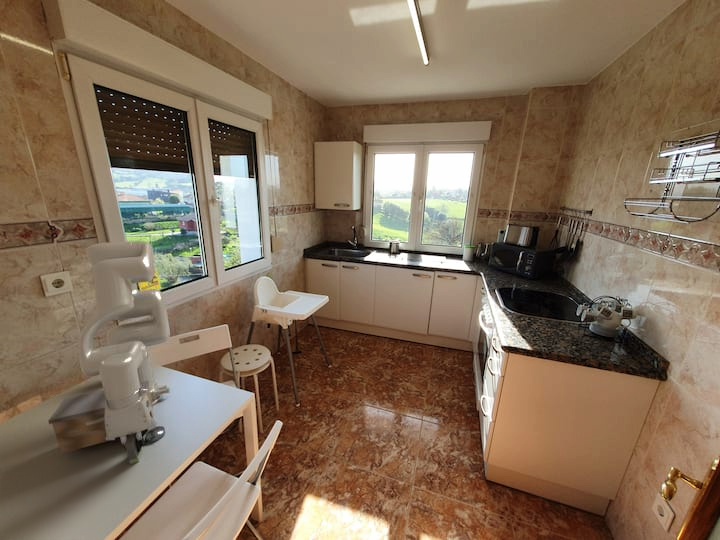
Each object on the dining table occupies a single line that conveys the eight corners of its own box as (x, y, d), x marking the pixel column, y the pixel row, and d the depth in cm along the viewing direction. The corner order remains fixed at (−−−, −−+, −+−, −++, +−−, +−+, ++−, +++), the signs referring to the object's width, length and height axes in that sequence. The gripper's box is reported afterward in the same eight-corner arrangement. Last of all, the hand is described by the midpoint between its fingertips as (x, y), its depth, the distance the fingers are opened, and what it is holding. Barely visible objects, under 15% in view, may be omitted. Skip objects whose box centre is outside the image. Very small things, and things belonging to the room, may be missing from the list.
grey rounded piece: (153, 430, 92) (152, 426, 92) (168, 430, 92) (167, 426, 92) (142, 443, 87) (141, 438, 87) (158, 442, 88) (158, 438, 87)
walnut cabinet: (155, 418, 97) (148, 380, 93) (149, 440, 88) (141, 399, 84) (76, 438, 88) (65, 398, 84) (61, 465, 80) (47, 421, 76)
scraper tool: (146, 430, 90) (141, 412, 87) (139, 461, 81) (132, 442, 78) (139, 432, 89) (133, 414, 86) (130, 464, 80) (123, 444, 77)
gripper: (160, 382, 84) (169, 431, 89) (94, 395, 78) (107, 448, 82) (155, 397, 78) (165, 450, 82) (81, 414, 71) (96, 470, 76)
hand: (136, 449), depth 82 cm, fingers closed on scraper tool, 1 cm apart
